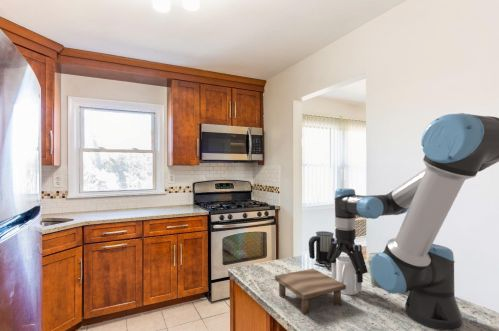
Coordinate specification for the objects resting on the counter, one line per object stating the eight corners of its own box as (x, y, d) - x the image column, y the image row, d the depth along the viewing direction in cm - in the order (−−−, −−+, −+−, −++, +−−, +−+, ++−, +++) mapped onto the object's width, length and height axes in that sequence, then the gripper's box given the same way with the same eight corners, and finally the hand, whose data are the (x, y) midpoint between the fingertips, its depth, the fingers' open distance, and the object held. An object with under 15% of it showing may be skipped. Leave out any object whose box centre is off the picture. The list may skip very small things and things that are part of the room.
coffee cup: (392, 290, 107) (391, 259, 108) (368, 287, 110) (368, 257, 111) (388, 281, 116) (388, 253, 116) (366, 279, 118) (366, 251, 119)
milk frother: (322, 257, 149) (322, 230, 149) (349, 265, 136) (349, 235, 137) (306, 263, 140) (305, 234, 140) (333, 272, 127) (332, 240, 128)
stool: (345, 304, 96) (345, 284, 96) (303, 316, 88) (303, 294, 88) (313, 285, 112) (312, 268, 112) (275, 294, 104) (275, 275, 105)
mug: (352, 300, 99) (352, 267, 100) (329, 294, 104) (329, 262, 105) (361, 289, 109) (361, 258, 109) (340, 283, 114) (339, 254, 114)
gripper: (377, 233, 98) (378, 294, 97) (331, 222, 119) (332, 272, 119) (362, 235, 95) (363, 299, 94) (317, 223, 116) (318, 275, 116)
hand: (345, 284), depth 107 cm, fingers open, 11 cm apart
